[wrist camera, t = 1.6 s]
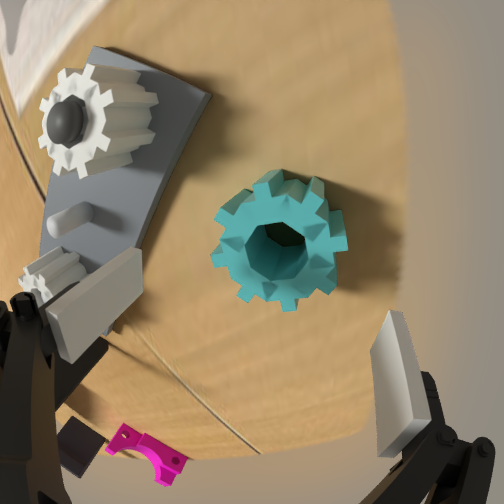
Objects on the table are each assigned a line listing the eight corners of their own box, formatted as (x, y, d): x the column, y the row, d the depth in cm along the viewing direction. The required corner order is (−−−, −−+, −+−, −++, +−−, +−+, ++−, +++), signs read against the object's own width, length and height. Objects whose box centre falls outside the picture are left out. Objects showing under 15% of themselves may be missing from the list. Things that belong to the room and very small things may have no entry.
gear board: (102, 47, 21) (38, 37, 13) (212, 94, 22) (156, 83, 14) (44, 272, 36) (4, 301, 28) (111, 330, 36) (75, 370, 29)
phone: (74, 323, 38) (13, 383, 25) (74, 319, 38) (11, 379, 25) (111, 346, 38) (52, 417, 25) (111, 343, 38) (50, 414, 24)
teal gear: (270, 147, 22) (252, 153, 17) (365, 212, 23) (376, 238, 17) (216, 235, 27) (189, 264, 21) (301, 291, 27) (294, 331, 21)
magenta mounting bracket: (188, 457, 49) (175, 484, 43) (177, 461, 52) (165, 486, 45) (126, 419, 48) (109, 445, 42) (120, 426, 51) (104, 450, 45)
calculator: (73, 420, 60) (47, 455, 47) (71, 414, 59) (43, 450, 45) (105, 441, 60) (80, 479, 47) (104, 437, 58) (78, 476, 45)
